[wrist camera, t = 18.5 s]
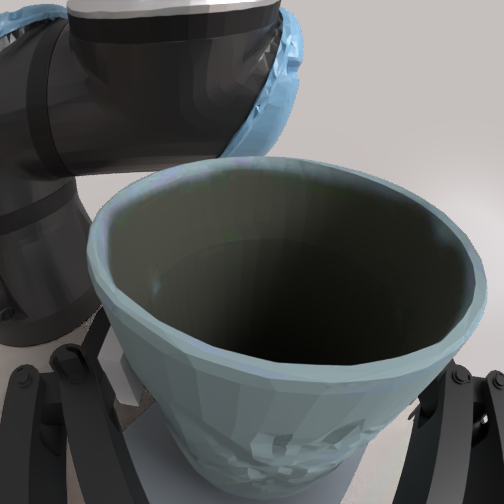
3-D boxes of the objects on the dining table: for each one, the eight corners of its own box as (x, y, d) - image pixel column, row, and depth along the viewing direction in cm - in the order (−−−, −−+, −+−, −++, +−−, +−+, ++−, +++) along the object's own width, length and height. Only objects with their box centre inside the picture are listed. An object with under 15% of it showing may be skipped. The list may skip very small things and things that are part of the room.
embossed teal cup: (380, 479, 11) (547, 298, 5) (172, 529, 9) (18, 416, 2) (313, 342, 19) (358, 157, 13) (154, 362, 17) (119, 158, 11)
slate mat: (87, 470, 12) (83, 466, 11) (242, 318, 24) (243, 313, 23) (276, 594, 7) (278, 595, 6) (388, 382, 19) (391, 377, 18)
